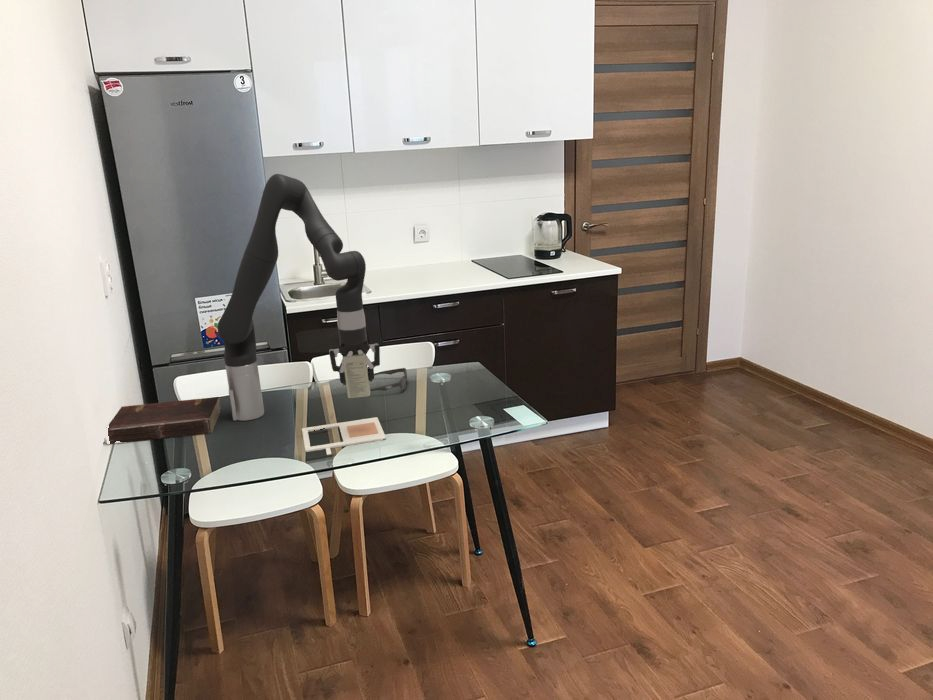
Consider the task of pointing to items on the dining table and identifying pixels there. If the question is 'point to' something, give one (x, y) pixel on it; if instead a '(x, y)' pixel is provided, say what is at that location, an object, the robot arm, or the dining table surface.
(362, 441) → the window card
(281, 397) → the dining table surface
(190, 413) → the hardback book
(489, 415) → the dining table surface
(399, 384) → the sunglasses
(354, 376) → the skincare box
